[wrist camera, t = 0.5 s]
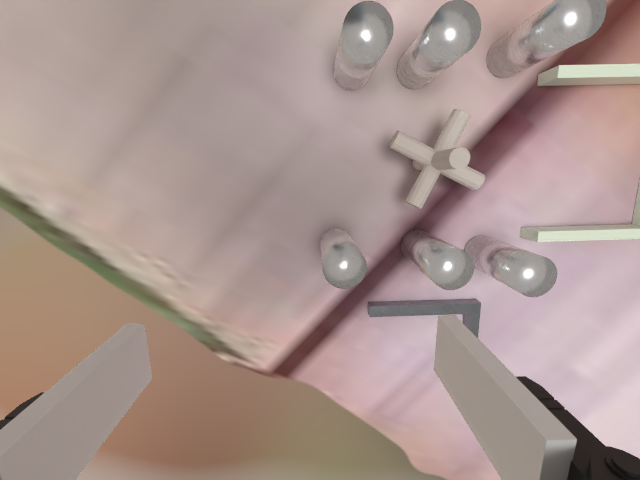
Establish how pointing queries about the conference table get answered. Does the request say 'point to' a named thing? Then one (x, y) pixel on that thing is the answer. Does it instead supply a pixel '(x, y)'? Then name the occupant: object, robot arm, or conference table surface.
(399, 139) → the beige rod cross
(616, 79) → the corral
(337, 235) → the set of silver pegs
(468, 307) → the hook bar
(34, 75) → the conference table surface
